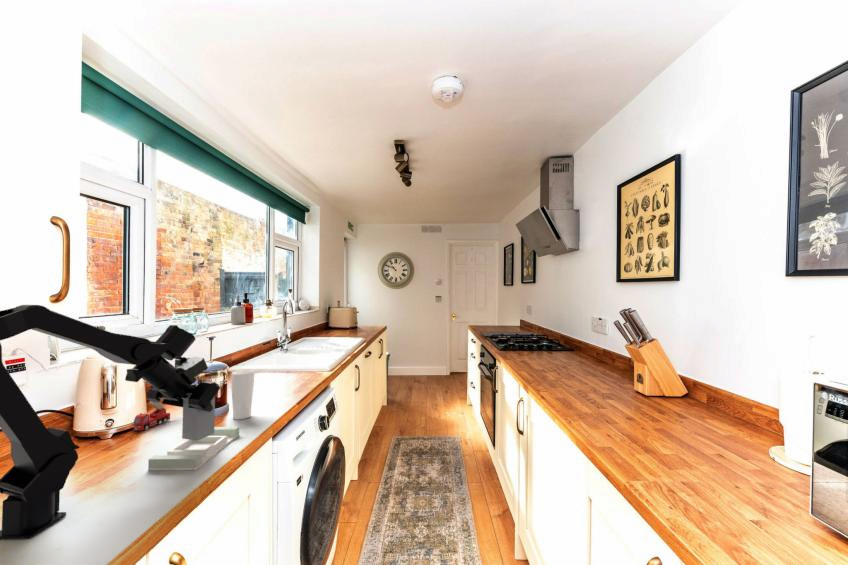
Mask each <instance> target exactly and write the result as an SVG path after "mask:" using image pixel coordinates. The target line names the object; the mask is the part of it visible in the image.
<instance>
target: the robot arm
mask: <svg viewBox="0 0 848 565" xmlns="http://www.w3.org/2000/svg"><path fill="white" fill-rule="evenodd" d="M30 330H33V331H37V332H38V333H42V334H45V335H47V336H51V337H54V338H58V339H61V340H64V341H68V342H70V343H73V344H77V345H80V346H83V347H86V348H89V349H92V350H94V351H95V352H97V353H98V354H99V355H100V356H101V357H103V358H106V359H108V360H109V361H111V362H114V363H116V364H125V365H133V367H131V368H128V369H127V368H126V375H125V381H126V382H132V383H138V382H140V380H141V379H142V380H144V381H145V382H146V383H148V385H150V386H149V389H148V390H147V392H146V398H147V400H149V402H150V401H152V402H157V403H159V402H161V404H162V405H166V406H167V405H168V406H173V407H180V408H183V399H187V398H188V396H190V397H189V398H188V404H189V406H188V408H193V409H198V410H204V411H209V412H211V411H212V409H213V407H212V404H211V401H212V399H213V398H214V396H215V397H216V395H217V394H218V392H219V391H220V390H221V387H220V385H219V384H218V383H217V382H215V381H206V380H205V381H200V383H198V384H197V385H193V384H195V383H196V381H197V380H198V379H197V376H199V375H200V374H202V373H203V372H204V371H207V370H208V369H209V367H208V364H207V362H206V360H205V358H204V356H188V357H185V356H183V355H185V353H186V352H187V351H188V349H190V347H191V346H192V345H193V344H194V343H195V342H196V337H195V335H194V334H193V333H192V332H189V331H187V330H185V329H183V328H181V327H179V326H178V325H176V324H170V325H169V326H167V328H166V329H165V331H164V332H163V333H162V334H161V335H160V336H159V337H158V338H157V339H156V341H151V340H149V339H147V338H145V337H144V338H143V337H139V336H134V335H130V334H129V335H127V334H121V333H115V332H111V331H109V330H105V329H102V328H101V327H98V326H95V325H92V324H89V323H86V322H83V321H82V320H78V319H76V318H73V317H70V316H68V315H65V314H62V313H59V312H57V311H54V310H51V309H50V308H47V307H46V306H45V305H40V304H20V305H18V306H16V307H11V308H8V309H7V308H6V309H3V310H0V341H3V340H6V339H7V340H8V339H10V338H13V337H16V336H18V335H20V334H22V333H25V332H27V331H30ZM174 359H175V360H174ZM173 360H174V365H173V364H172V363H170V361H173ZM160 398H161V399H160ZM161 400H162V401H161ZM0 429H1V431H2V432H3V433H4V434H5V436H6V437H7V439H8V440H9V442H10V456H11V459H12V462H13V464H14V465H13V466H12V467H10V468H9V470H8V471H7V472H5V473H4V475H3V476H2V477H0V494H2V495H3V494H4V495H6V496H7V495H8V496H7V497H6V499H3V500H2V510H1V512H2V513H1V529H0V540H4V539H5V540H7V539H8V540H9V539H11V540H12V539H15V540H16V539H24V540H25V539H30V538H33V537H34V536H36V535H37V534H39V533H41V532H42V531H44V530H45V529H47V528H48V527H50V526H52V525H53V524H55V523H56V522H58V521H60V520H61V519H62V518H65V517H66V516H67V512H66V511H60V491H61V490H63V488H64V487H65V484H66V483H67V480H68V477H69V475H70V472H71V471H72V470H73V468H74V466H75V465H76V463H77V461H78V460H79V454H78V451H77V449H78V450H79V449H80V446H79V445H77V444H76V443H75V442H74V441H73V438H72V435H71V433H70V432H69V431H68V430H66V429H65V430H64V429H59V428H56V427H55V428H54V427H50V426H49V427H46V425H45V424H44V422H43V420H41V418H40V417H39V415H38V413H37V412H36V410H35V409H34V408H33V406H32V405H31V403H30V402H29V400H28V399H27V398H26V395H25V394H24V393H23V392H22V390H21V389H20V387H19V385H18V384H17V383H16V381H15V380H14V378H13V377H12V376H11V374H10V372H9V371H8V369H7V368H6V367H5V365H4V362H3V348H2V343H1V342H0Z"/></svg>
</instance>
